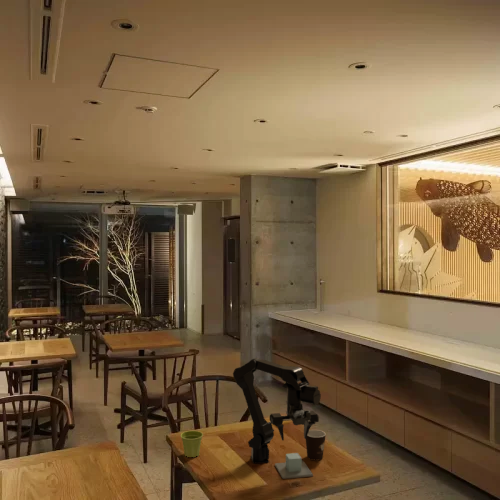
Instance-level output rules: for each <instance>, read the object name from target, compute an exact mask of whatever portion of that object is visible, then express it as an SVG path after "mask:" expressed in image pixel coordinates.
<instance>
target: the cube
mask: <svg viewBox="0 0 500 500" xmlns="http://www.w3.org/2000/svg"><path fill="white" fill-rule="evenodd" d="M302 461H303V460H302V456H301V455H300V454H299V452H292V453H285V463H286V468H287V469H288V471H289V472H295V471H301V464H302Z"/></svg>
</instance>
